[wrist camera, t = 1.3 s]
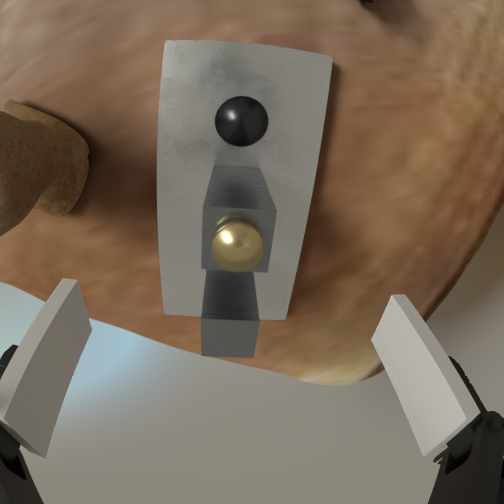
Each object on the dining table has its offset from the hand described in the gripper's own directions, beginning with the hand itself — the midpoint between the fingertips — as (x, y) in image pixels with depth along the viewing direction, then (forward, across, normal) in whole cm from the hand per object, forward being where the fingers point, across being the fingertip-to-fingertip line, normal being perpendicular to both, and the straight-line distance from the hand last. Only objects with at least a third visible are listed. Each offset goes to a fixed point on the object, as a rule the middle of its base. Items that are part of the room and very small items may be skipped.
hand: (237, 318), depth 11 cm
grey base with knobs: (+18, 0, -1) cm, 18 cm away
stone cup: (+18, -21, +4) cm, 28 cm away
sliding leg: (+16, 0, 0) cm, 16 cm away
